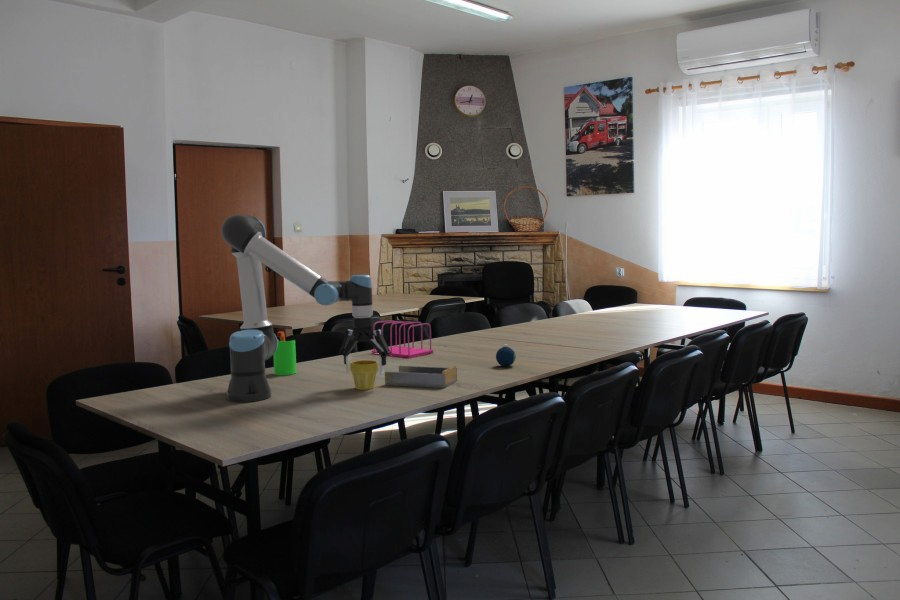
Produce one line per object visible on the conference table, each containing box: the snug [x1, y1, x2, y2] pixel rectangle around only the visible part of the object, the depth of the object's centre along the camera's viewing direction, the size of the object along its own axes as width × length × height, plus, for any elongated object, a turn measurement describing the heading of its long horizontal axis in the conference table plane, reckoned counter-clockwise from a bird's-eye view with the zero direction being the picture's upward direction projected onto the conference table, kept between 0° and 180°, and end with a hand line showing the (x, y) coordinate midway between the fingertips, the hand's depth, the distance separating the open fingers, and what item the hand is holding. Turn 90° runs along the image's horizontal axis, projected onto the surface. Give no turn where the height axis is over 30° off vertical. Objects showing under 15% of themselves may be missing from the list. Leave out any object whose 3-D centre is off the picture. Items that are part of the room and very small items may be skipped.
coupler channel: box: [384, 365, 458, 389], centre depth 270 cm, size 14×24×6 cm, turn 70°
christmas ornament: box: [495, 343, 516, 367], centre depth 302 cm, size 8×8×10 cm
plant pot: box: [350, 359, 379, 391], centre depth 262 cm, size 10×10×10 cm
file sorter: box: [371, 319, 434, 359], centre depth 342 cm, size 17×25×16 cm
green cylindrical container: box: [272, 331, 297, 376], centre depth 294 cm, size 9×8×18 cm
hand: (365, 373), depth 262 cm, fingers open, 13 cm apart
